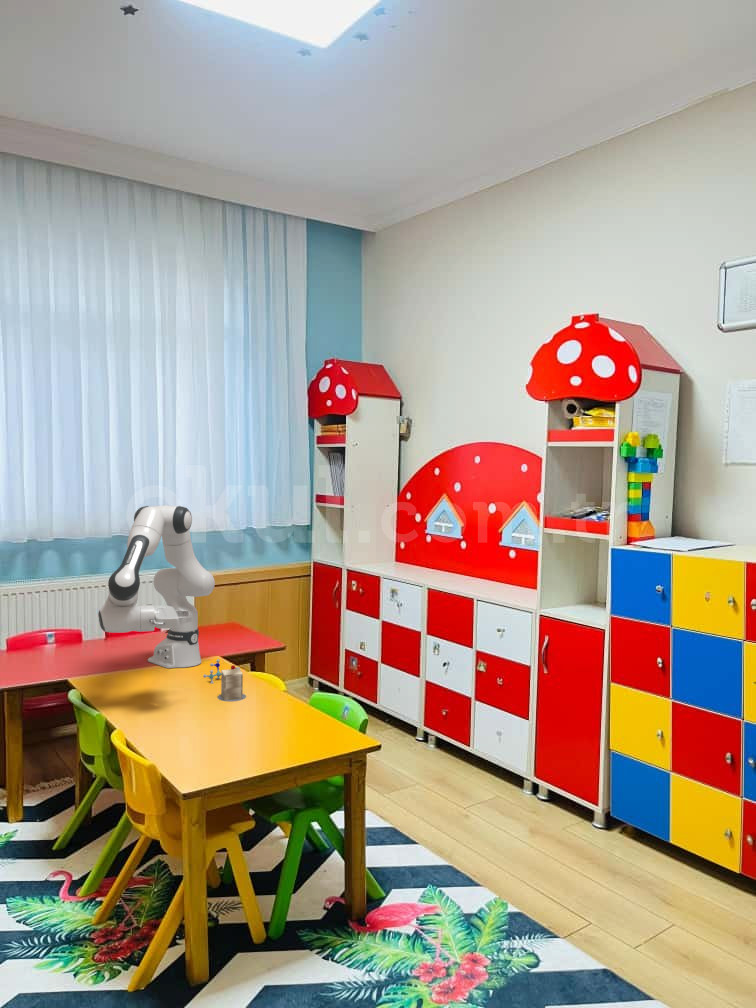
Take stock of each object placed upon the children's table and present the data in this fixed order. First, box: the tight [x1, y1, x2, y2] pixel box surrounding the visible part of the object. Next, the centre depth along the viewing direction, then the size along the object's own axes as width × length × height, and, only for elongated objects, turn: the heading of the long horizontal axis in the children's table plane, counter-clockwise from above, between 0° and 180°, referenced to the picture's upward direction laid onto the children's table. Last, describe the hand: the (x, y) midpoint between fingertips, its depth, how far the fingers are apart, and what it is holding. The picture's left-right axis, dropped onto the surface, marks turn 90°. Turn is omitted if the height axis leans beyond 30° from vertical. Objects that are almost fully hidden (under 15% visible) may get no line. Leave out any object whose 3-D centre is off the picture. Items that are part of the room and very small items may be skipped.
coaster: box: [217, 693, 247, 703], centre depth 278 cm, size 10×10×1 cm
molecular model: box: [202, 658, 241, 685], centre depth 297 cm, size 12×10×10 cm
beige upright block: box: [220, 668, 244, 700], centre depth 278 cm, size 6×6×9 cm
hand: (189, 616), depth 274 cm, fingers open, 8 cm apart
